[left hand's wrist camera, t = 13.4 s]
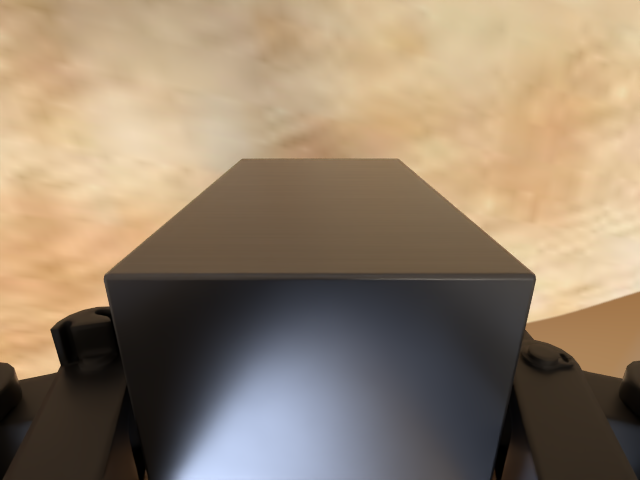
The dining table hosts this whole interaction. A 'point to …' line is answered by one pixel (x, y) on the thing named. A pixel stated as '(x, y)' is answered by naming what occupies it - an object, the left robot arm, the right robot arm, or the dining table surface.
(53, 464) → the left robot arm
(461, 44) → the dining table surface
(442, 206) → the bar
